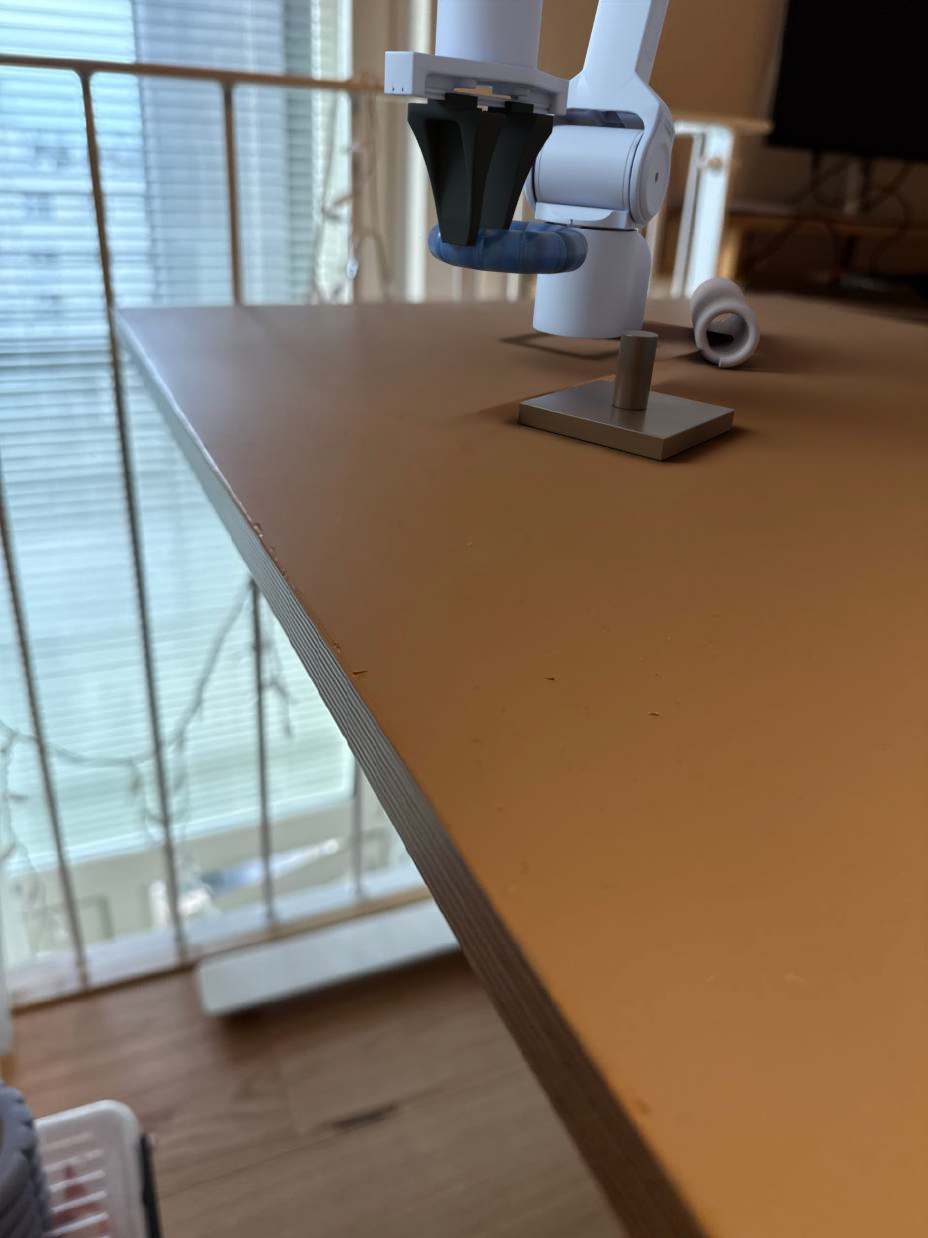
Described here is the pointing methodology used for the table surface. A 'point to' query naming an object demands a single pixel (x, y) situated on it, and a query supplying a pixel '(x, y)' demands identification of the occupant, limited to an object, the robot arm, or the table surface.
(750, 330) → the coil
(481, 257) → the blue segmented ring
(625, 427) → the peg stand
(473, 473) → the table surface
